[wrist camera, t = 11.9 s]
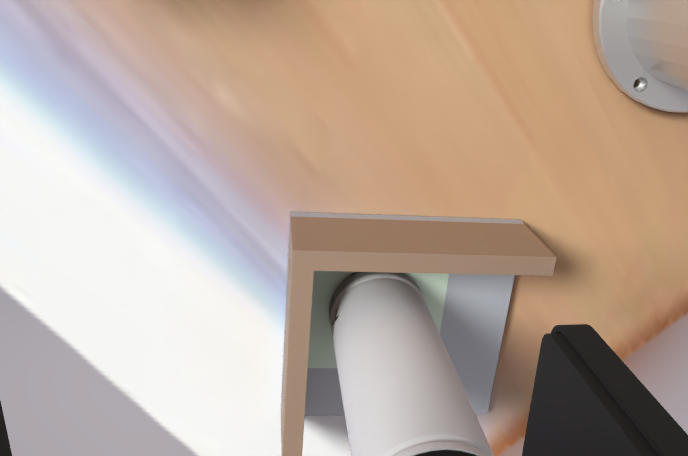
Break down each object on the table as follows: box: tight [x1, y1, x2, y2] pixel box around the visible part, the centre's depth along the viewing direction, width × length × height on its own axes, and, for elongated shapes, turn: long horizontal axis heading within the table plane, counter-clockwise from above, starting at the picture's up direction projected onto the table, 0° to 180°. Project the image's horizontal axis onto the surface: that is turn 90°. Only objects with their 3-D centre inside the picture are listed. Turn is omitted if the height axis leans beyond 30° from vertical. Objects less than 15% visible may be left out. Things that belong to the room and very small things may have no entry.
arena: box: [281, 212, 557, 456], centre depth 41 cm, size 15×15×6 cm
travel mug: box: [329, 272, 494, 456], centre depth 33 cm, size 6×7×20 cm
